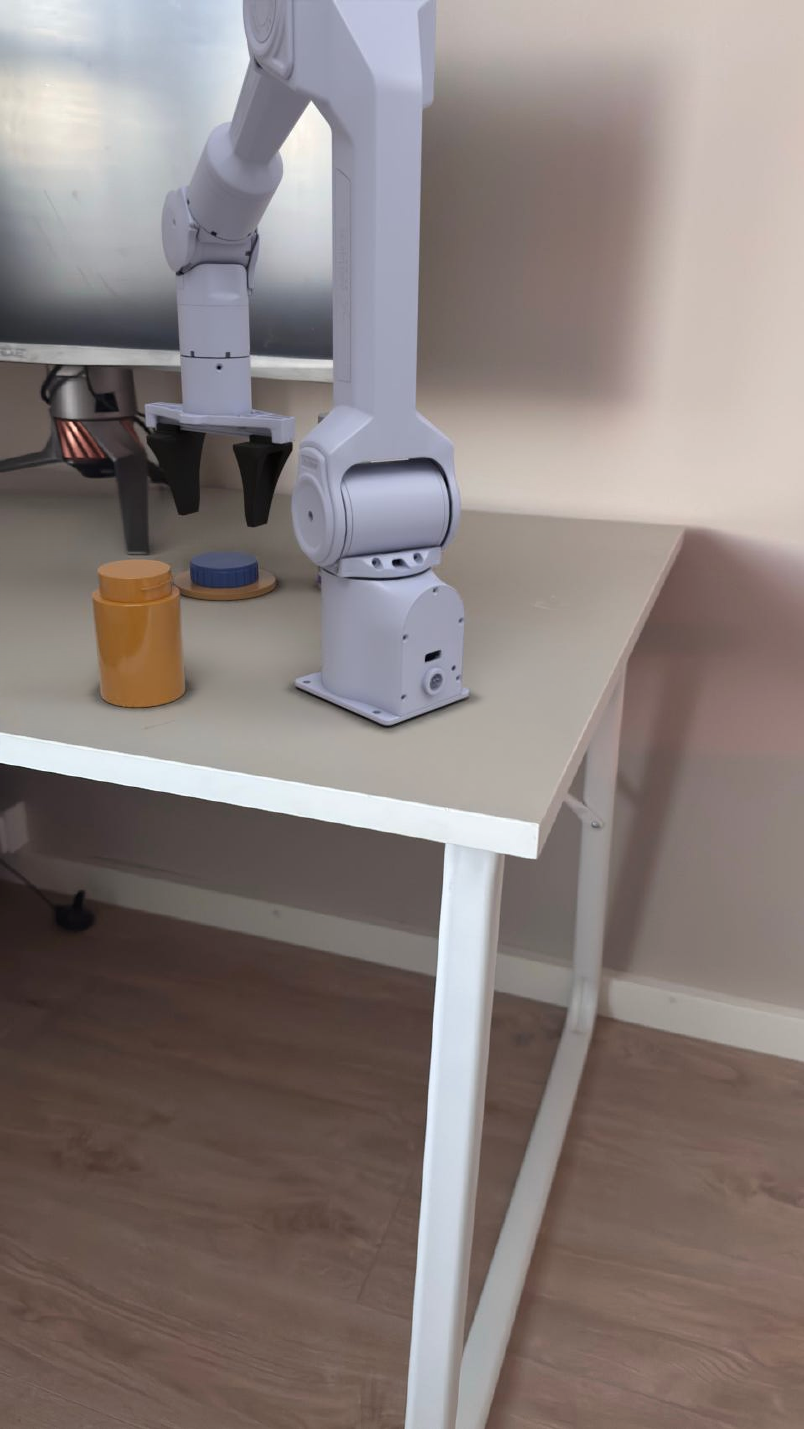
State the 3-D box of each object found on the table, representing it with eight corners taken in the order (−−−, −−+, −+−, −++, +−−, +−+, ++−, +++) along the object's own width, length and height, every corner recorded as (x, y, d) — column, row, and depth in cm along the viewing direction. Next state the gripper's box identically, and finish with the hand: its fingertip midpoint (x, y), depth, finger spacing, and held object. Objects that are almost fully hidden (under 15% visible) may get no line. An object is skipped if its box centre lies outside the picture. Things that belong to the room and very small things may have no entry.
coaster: (296, 587, 96) (296, 580, 96) (212, 607, 90) (212, 600, 90) (235, 566, 102) (235, 560, 102) (154, 583, 96) (153, 577, 96)
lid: (237, 566, 100) (236, 547, 99) (271, 581, 95) (270, 562, 95) (178, 576, 96) (177, 556, 96) (211, 592, 92) (210, 572, 91)
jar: (202, 693, 73) (195, 569, 69) (129, 714, 69) (119, 585, 66) (155, 670, 76) (147, 552, 73) (85, 690, 73) (72, 567, 69)
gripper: (115, 352, 88) (127, 516, 94) (256, 365, 82) (261, 539, 87) (172, 348, 94) (181, 502, 99) (309, 359, 88) (310, 523, 93)
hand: (222, 519), depth 94 cm, fingers open, 7 cm apart
